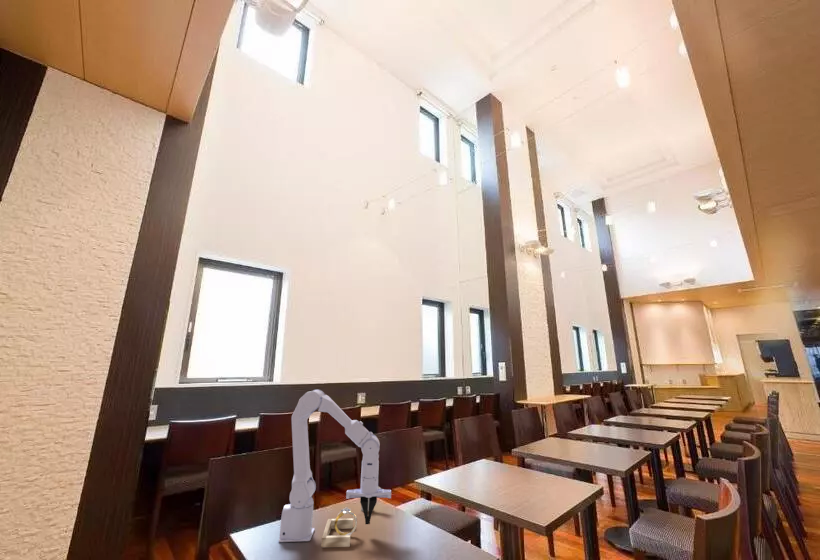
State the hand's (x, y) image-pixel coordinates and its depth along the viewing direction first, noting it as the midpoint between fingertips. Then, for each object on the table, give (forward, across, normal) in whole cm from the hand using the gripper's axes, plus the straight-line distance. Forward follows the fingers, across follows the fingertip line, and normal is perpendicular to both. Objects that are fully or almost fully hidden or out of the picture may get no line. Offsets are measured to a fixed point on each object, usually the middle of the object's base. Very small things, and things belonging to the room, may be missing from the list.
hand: (367, 522), depth 110 cm
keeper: (+4, -8, 0) cm, 9 cm away
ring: (+4, -7, 0) cm, 8 cm away
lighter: (+4, +1, +20) cm, 20 cm away
